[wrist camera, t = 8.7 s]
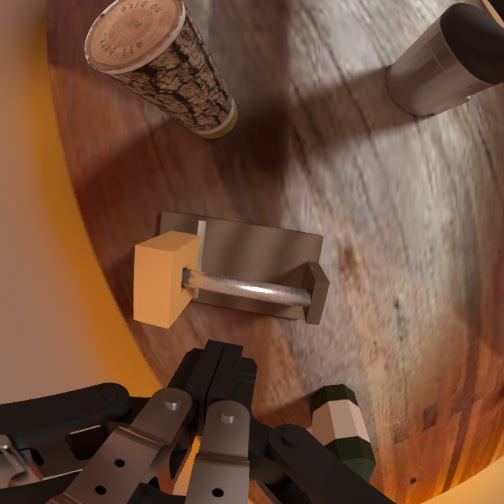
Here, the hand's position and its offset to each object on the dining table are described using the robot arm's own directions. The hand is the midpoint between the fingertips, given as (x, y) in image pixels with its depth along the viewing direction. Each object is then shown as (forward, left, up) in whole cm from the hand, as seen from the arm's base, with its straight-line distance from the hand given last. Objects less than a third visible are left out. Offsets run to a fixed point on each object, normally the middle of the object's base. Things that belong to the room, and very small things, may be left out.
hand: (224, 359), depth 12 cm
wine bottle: (-17, +25, -28) cm, 42 cm away
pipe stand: (+3, +3, -28) cm, 28 cm away
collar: (+9, +3, -24) cm, 26 cm away
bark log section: (+9, -17, -28) cm, 34 cm away
